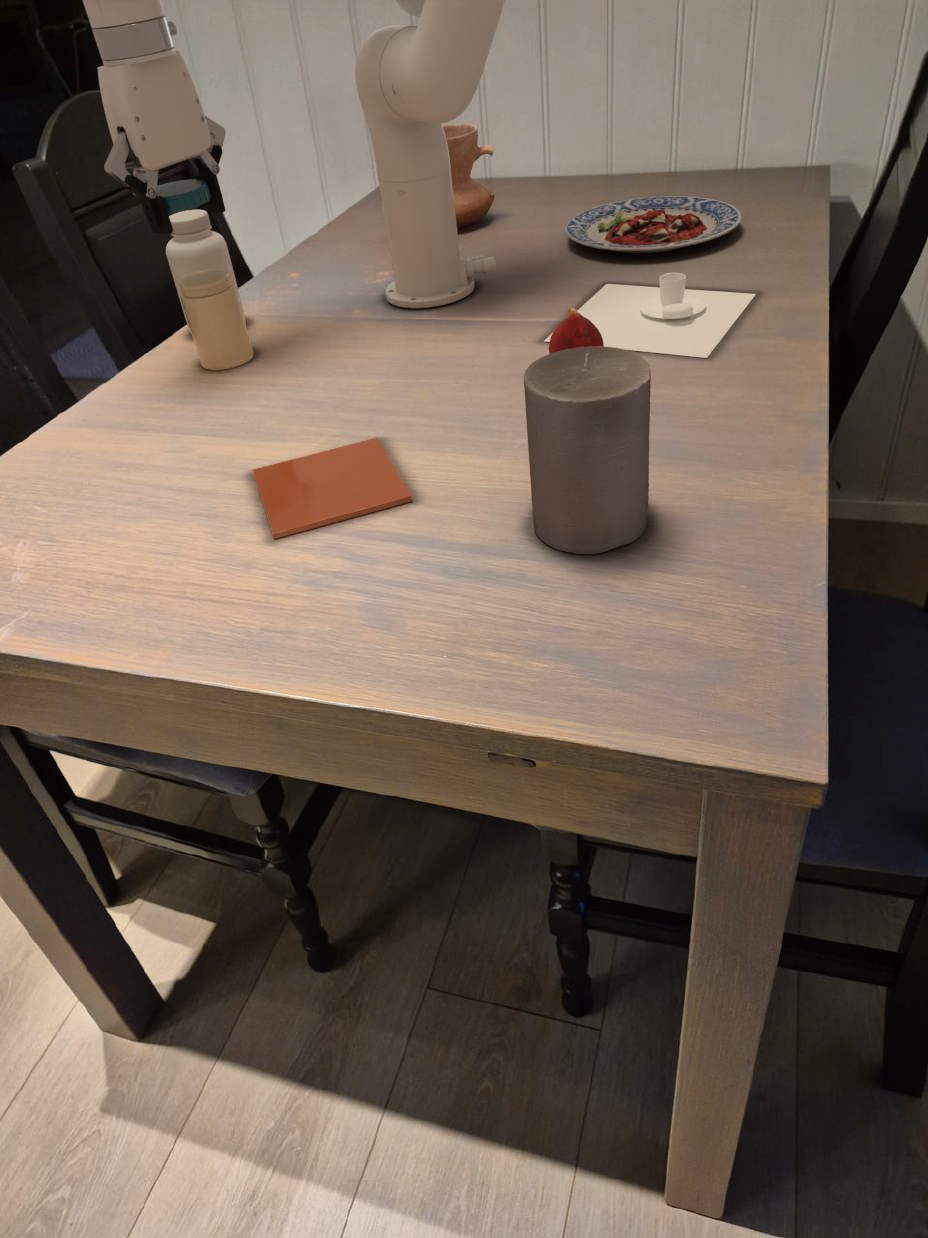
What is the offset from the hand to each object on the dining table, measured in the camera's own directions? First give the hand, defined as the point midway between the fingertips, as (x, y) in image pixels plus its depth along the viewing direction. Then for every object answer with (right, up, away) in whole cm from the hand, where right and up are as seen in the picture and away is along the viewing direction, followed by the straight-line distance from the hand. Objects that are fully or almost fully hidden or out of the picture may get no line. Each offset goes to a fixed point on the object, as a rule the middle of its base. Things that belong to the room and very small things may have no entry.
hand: (189, 221), depth 103 cm
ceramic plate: (+60, +11, +31) cm, 69 cm away
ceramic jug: (+29, +21, +48) cm, 60 cm away
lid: (-1, +3, -1) cm, 3 cm away
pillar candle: (+43, -38, -27) cm, 64 cm away
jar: (+1, -13, +11) cm, 17 cm away
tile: (+19, -34, -18) cm, 43 cm away
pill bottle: (-2, -6, +21) cm, 22 cm away
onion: (+44, -20, -5) cm, 49 cm away
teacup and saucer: (+55, -9, +6) cm, 56 cm away
